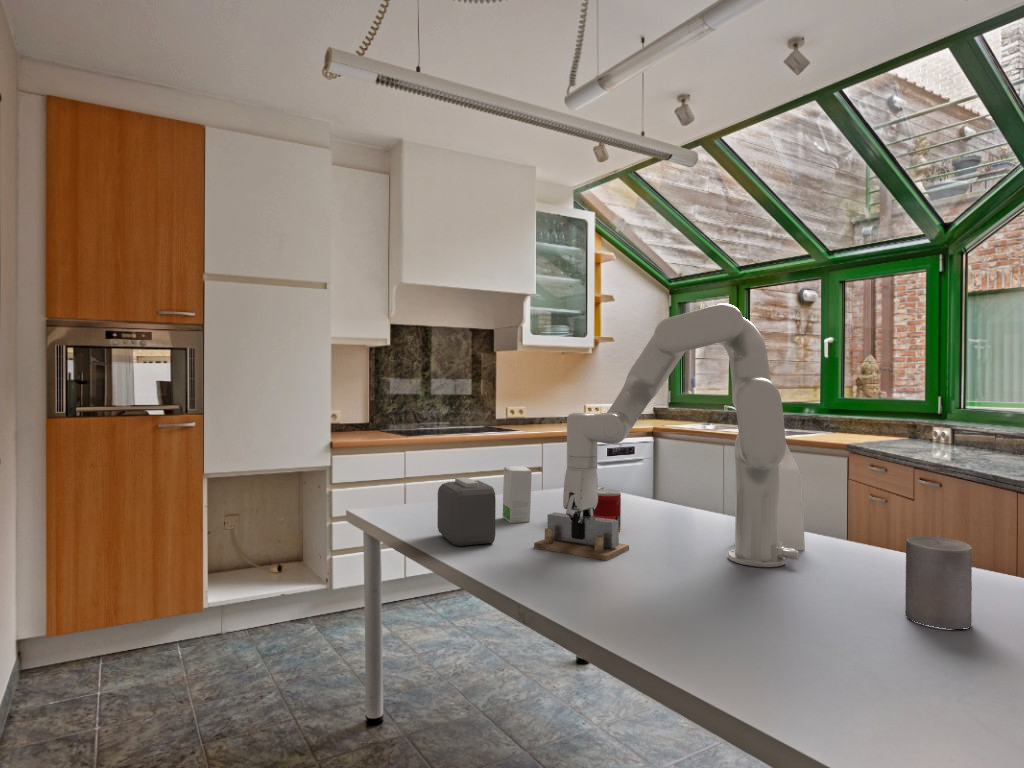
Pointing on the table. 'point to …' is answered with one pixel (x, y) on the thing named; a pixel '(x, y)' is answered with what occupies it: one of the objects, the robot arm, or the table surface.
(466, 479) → the alarm clock
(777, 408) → the robot arm
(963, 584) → the pillar candle
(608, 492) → the canned food
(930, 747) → the table surface
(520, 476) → the skincare box
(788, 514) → the milk
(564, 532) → the steel bar
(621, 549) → the rack
